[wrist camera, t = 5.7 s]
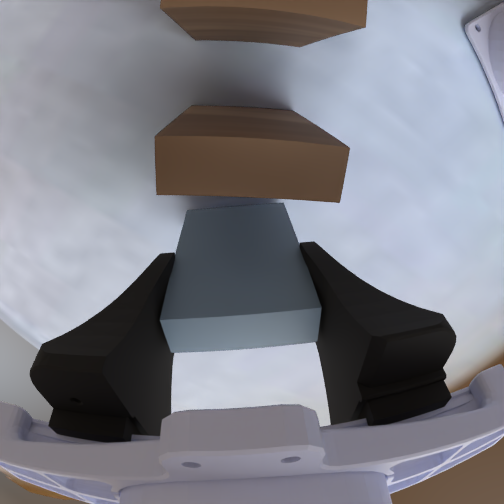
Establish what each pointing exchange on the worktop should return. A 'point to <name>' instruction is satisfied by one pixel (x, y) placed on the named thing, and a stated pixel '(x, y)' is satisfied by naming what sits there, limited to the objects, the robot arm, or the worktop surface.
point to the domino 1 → (267, 19)
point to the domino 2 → (249, 155)
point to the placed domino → (239, 282)
